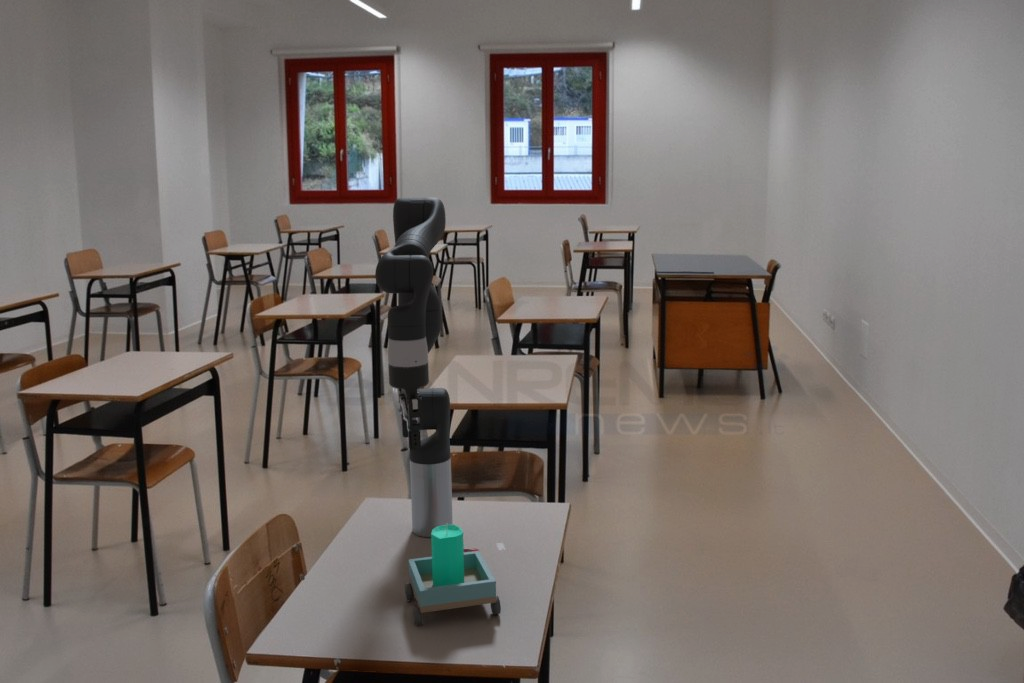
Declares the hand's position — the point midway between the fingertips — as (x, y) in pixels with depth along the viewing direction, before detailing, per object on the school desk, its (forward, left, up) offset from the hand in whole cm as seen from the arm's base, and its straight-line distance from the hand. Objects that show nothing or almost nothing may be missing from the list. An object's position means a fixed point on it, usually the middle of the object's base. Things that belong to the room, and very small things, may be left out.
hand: (411, 442), depth 181 cm
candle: (+9, +5, -26) cm, 28 cm away
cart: (+10, +5, -30) cm, 32 cm away
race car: (-5, +10, -31) cm, 32 cm away
